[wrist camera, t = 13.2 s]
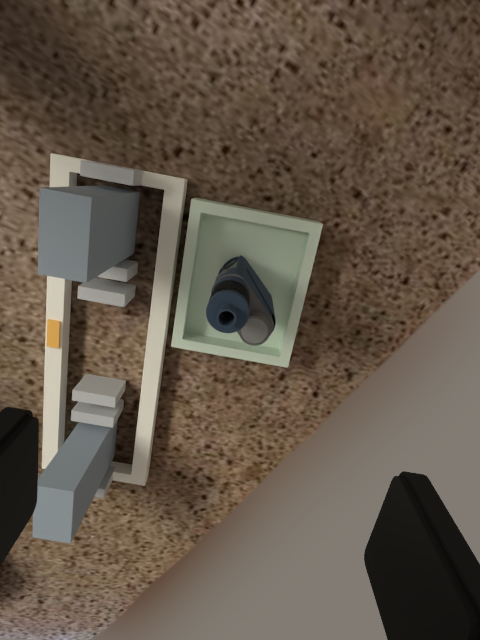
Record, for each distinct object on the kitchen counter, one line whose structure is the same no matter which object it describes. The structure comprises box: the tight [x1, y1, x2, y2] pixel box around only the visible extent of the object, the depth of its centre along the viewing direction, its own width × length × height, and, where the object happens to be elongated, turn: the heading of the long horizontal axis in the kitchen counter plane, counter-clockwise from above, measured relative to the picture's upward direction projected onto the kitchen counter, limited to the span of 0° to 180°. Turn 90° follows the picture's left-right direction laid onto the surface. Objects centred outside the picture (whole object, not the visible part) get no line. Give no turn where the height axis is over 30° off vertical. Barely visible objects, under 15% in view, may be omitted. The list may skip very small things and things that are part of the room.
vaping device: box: [206, 255, 276, 346], centre depth 27 cm, size 3×5×12 cm, turn 35°
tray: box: [171, 198, 323, 368], centre depth 32 cm, size 12×10×2 cm
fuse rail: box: [33, 153, 188, 543], centre depth 31 cm, size 28×10×10 cm, turn 169°
